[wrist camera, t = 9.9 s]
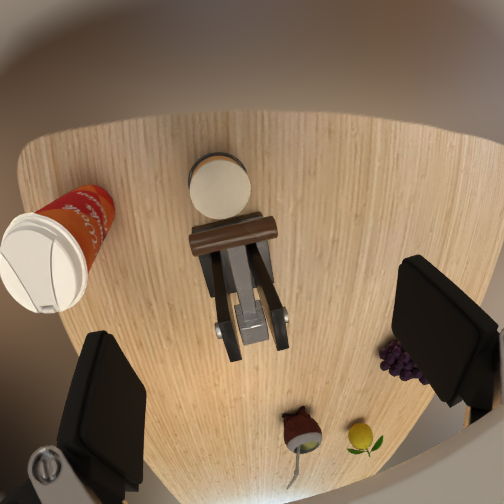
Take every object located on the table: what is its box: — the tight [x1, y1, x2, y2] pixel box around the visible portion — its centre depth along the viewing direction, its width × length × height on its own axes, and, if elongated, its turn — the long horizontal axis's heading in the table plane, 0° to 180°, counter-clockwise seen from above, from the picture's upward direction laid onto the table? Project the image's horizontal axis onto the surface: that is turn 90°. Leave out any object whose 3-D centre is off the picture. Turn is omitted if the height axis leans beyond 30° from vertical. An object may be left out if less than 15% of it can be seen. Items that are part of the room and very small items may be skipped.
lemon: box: [347, 423, 383, 457], centre depth 56 cm, size 7×6×10 cm
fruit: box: [379, 341, 429, 385], centre depth 46 cm, size 10×11×15 cm
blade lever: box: [189, 216, 278, 345], centre depth 22 cm, size 12×5×2 cm, turn 10°
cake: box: [188, 152, 251, 219], centre depth 31 cm, size 6×6×4 cm
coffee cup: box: [0, 185, 115, 313], centre depth 25 cm, size 8×8×15 cm
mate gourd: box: [282, 406, 322, 489], centre depth 47 cm, size 8×8×15 cm
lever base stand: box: [192, 212, 289, 362], centre depth 30 cm, size 9×8×15 cm
